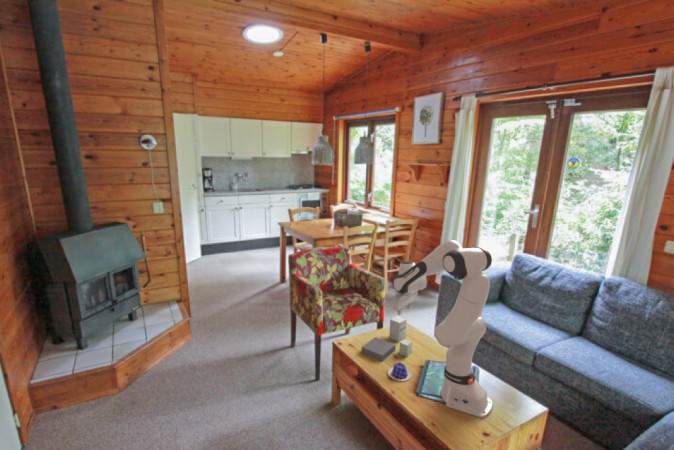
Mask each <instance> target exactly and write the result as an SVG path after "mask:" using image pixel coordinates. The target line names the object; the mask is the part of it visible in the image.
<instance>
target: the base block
mask: <svg viewBox="0 0 674 450" xmlns="http://www.w3.org/2000/svg"><path fill="white" fill-rule="evenodd" d="M394 352H396V344H394V343H392V342H389V341H386V340H383V339H381V338H378V337H376V336H375V337H373V338H372V339H370V340H369V341H368V342H367V343H365V344H364V345H362V346H361V353H362V354H363V355H366V356H369V357H371V358H373V359H376V360H379V361H380V362H384V361H385V360H386V359H387V358H388V357H390V356H391V355H392V354H394Z"/></svg>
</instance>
